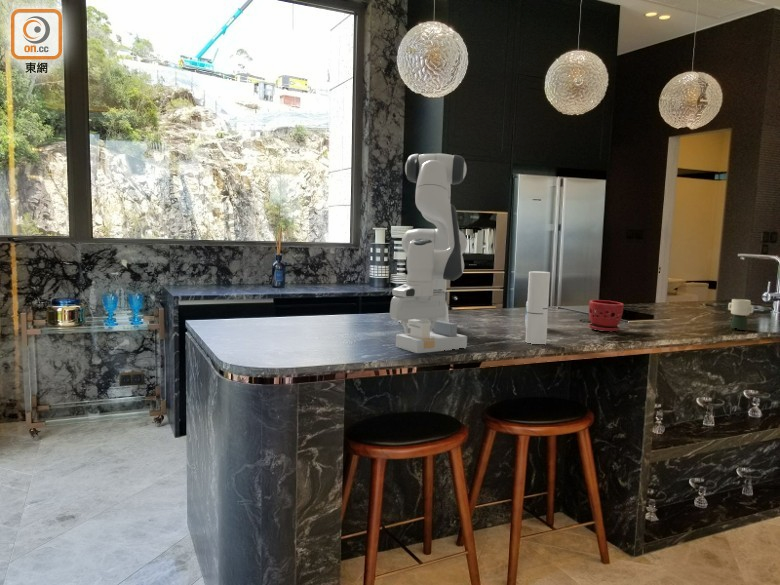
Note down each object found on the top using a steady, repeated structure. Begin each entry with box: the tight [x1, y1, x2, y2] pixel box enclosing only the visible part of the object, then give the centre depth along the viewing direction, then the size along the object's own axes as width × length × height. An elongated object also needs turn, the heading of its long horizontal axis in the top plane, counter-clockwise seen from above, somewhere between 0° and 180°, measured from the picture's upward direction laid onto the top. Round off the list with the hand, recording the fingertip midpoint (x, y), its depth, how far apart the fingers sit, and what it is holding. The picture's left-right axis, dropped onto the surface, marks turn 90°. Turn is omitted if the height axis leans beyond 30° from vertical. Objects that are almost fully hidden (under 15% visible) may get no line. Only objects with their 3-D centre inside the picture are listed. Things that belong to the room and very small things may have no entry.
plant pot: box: [588, 299, 625, 332], centre depth 242 cm, size 13×13×12 cm
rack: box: [395, 320, 468, 354], centre depth 196 cm, size 12×20×8 cm, turn 123°
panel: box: [407, 319, 430, 339], centre depth 193 cm, size 9×3×8 cm, turn 33°
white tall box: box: [524, 270, 551, 345], centre depth 209 cm, size 7×7×25 cm
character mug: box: [727, 298, 755, 330], centre depth 255 cm, size 11×7×13 cm, turn 27°
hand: (418, 332), depth 193 cm, fingers open, 7 cm apart
